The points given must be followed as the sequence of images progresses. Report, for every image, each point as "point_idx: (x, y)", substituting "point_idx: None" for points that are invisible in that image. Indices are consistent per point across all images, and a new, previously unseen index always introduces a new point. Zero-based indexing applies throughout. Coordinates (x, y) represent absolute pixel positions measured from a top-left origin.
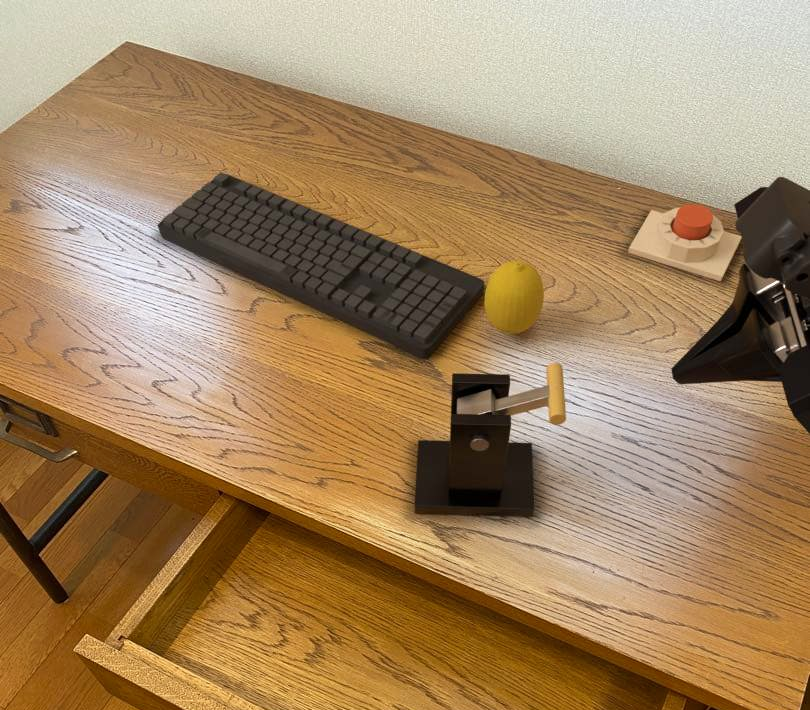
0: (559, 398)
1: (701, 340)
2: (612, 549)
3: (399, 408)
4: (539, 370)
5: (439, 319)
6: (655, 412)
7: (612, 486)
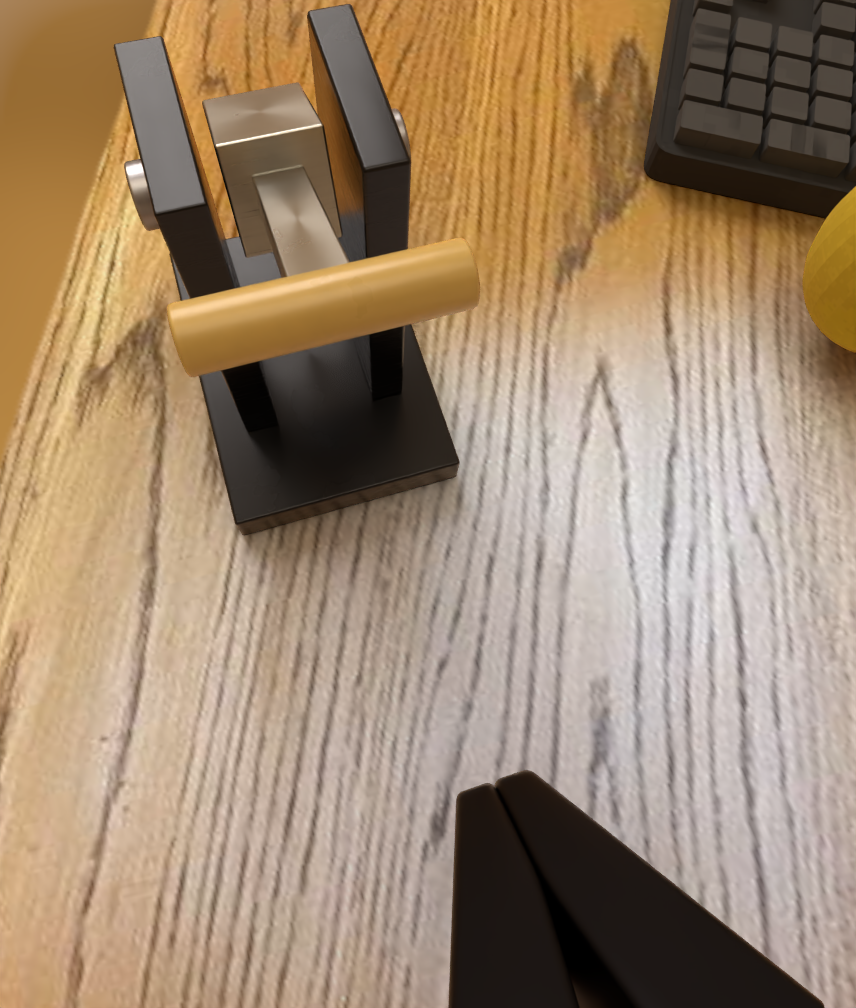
0: (263, 304)
1: (714, 954)
2: (193, 776)
3: (473, 163)
4: (739, 433)
5: (759, 139)
6: (741, 794)
7: (414, 725)
